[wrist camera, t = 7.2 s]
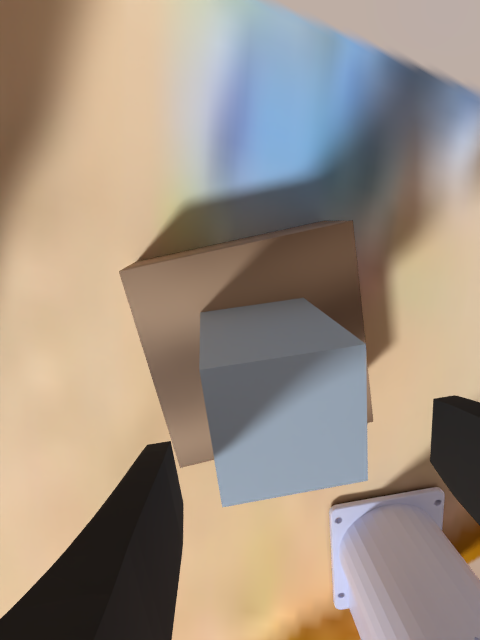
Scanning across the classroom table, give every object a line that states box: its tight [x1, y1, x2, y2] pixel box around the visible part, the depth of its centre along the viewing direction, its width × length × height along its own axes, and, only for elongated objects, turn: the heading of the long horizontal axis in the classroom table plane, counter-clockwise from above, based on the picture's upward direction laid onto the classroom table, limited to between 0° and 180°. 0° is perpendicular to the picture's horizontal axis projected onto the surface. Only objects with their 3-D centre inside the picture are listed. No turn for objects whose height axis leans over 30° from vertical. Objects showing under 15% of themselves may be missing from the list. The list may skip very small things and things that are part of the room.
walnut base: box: [119, 220, 373, 468], centre depth 17 cm, size 10×10×4 cm
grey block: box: [199, 298, 368, 507], centre depth 13 cm, size 5×5×6 cm
